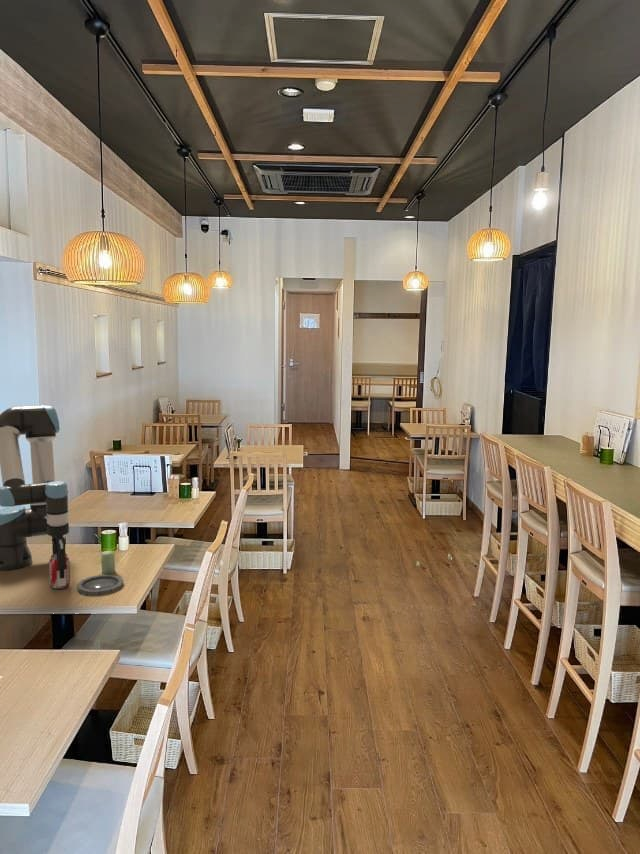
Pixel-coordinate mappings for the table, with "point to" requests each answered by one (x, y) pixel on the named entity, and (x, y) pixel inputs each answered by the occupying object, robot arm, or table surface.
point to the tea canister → (108, 562)
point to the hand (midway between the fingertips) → (60, 581)
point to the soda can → (53, 572)
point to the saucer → (100, 584)
